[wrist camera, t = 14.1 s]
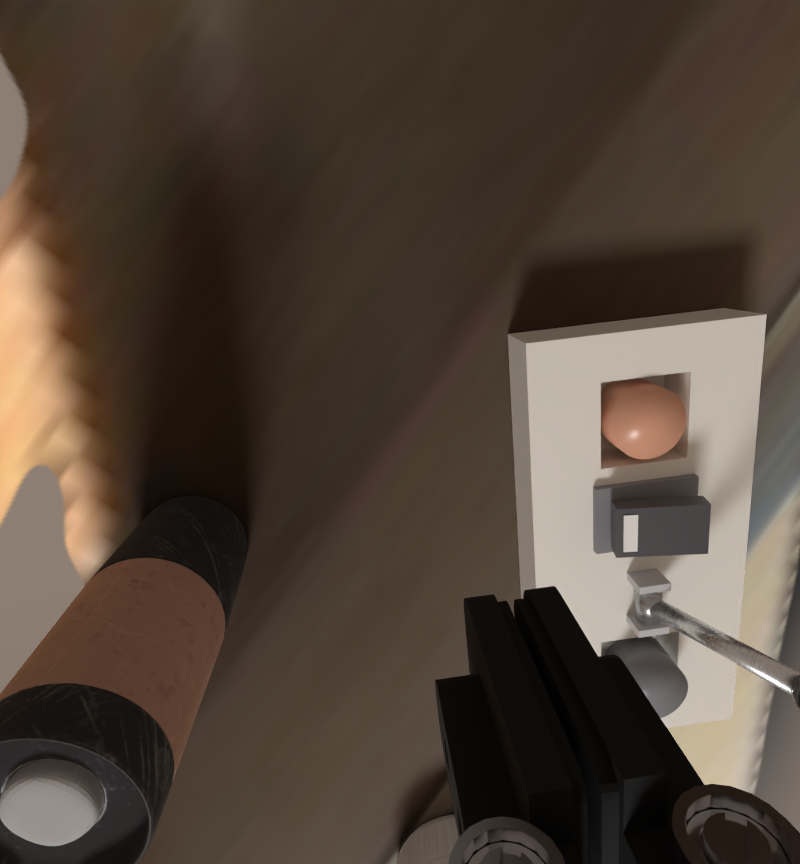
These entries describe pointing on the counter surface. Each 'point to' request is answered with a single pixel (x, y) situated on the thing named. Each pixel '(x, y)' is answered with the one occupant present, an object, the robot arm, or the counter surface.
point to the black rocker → (660, 526)
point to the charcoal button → (653, 672)
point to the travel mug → (117, 691)
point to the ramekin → (430, 842)
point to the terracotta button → (641, 417)
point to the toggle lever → (717, 642)
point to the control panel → (639, 479)
